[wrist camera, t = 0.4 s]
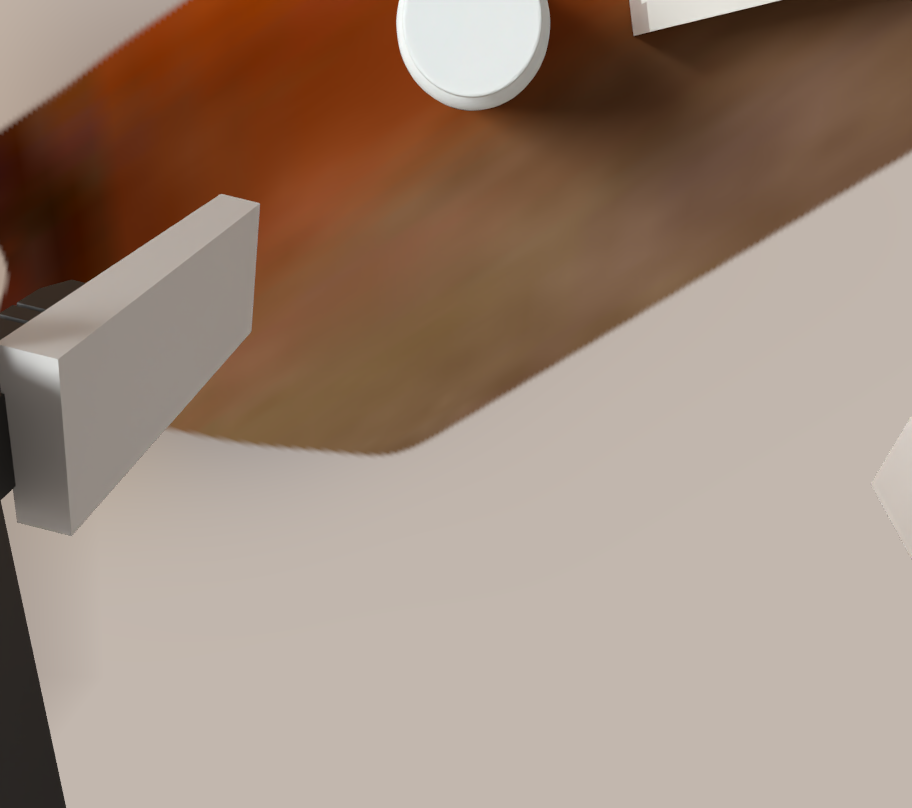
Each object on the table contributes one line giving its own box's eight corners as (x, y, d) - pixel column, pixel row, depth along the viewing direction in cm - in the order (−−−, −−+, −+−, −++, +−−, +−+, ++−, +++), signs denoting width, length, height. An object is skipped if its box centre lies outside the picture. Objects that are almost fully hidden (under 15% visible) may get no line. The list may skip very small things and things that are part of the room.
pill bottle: (558, -6, 34) (589, -37, 25) (508, 124, 36) (519, 139, 27) (436, -59, 33) (422, -111, 24) (392, 76, 35) (364, 75, 26)
